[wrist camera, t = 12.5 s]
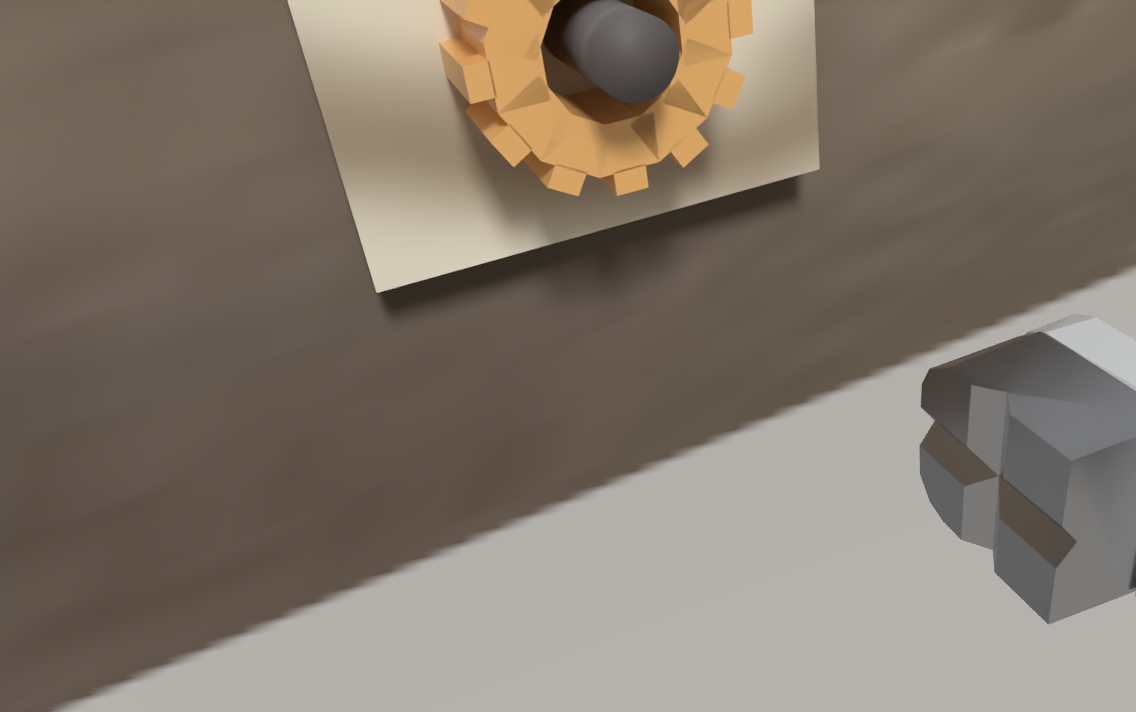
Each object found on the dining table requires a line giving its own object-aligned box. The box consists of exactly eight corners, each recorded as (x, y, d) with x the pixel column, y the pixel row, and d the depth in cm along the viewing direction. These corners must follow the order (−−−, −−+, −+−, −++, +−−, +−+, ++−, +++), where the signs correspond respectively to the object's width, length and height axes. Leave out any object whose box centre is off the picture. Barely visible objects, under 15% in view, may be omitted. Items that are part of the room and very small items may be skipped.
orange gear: (472, 188, 25) (498, 228, 22) (407, -93, 21) (428, -84, 19) (710, 125, 26) (761, 156, 23) (685, -152, 22) (741, -151, 20)
